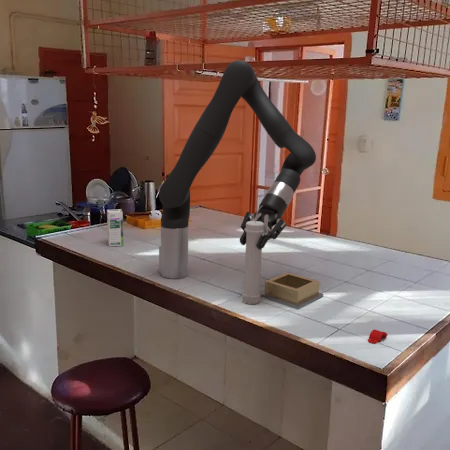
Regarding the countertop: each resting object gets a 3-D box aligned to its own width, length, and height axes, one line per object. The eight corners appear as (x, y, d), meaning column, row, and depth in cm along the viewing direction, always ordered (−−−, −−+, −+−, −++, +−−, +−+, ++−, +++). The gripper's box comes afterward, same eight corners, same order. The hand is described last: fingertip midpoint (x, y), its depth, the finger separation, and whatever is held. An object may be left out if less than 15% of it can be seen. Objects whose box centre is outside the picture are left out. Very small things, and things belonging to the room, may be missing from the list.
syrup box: (109, 247, 202) (108, 211, 199) (107, 243, 208) (106, 208, 204) (123, 246, 204) (122, 211, 201) (121, 242, 210) (121, 208, 206)
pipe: (254, 296, 154) (259, 200, 147) (265, 304, 149) (270, 205, 141) (238, 299, 152) (242, 202, 144) (249, 307, 146) (254, 206, 139)
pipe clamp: (375, 346, 125) (376, 338, 124) (365, 342, 127) (365, 334, 126) (389, 336, 131) (390, 328, 130) (379, 332, 133) (380, 325, 132)
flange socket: (259, 296, 154) (260, 281, 153) (285, 285, 165) (286, 270, 164) (297, 309, 145) (298, 293, 144) (323, 296, 156) (324, 281, 155)
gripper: (252, 189, 153) (225, 233, 147) (292, 195, 143) (264, 243, 138) (262, 204, 158) (236, 247, 152) (301, 211, 149) (275, 258, 143)
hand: (250, 245), depth 145 cm, fingers closed on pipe, 5 cm apart
